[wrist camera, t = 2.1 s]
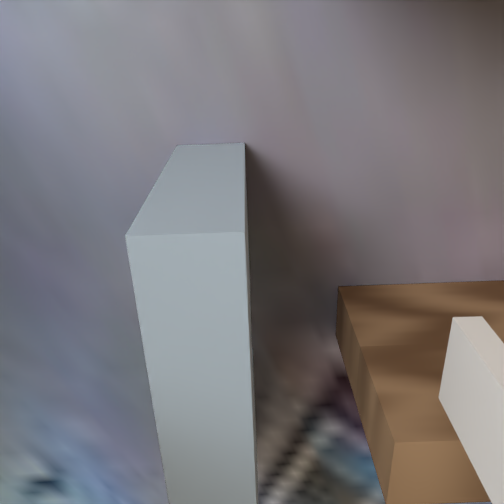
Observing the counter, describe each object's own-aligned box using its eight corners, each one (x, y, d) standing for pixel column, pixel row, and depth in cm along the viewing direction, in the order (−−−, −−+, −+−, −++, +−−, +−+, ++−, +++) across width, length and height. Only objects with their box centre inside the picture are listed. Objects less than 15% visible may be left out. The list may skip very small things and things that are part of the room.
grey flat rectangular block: (207, 440, 29) (189, 631, 20) (176, 145, 21) (125, 236, 12) (256, 438, 29) (261, 628, 20) (244, 142, 21) (244, 231, 12)
